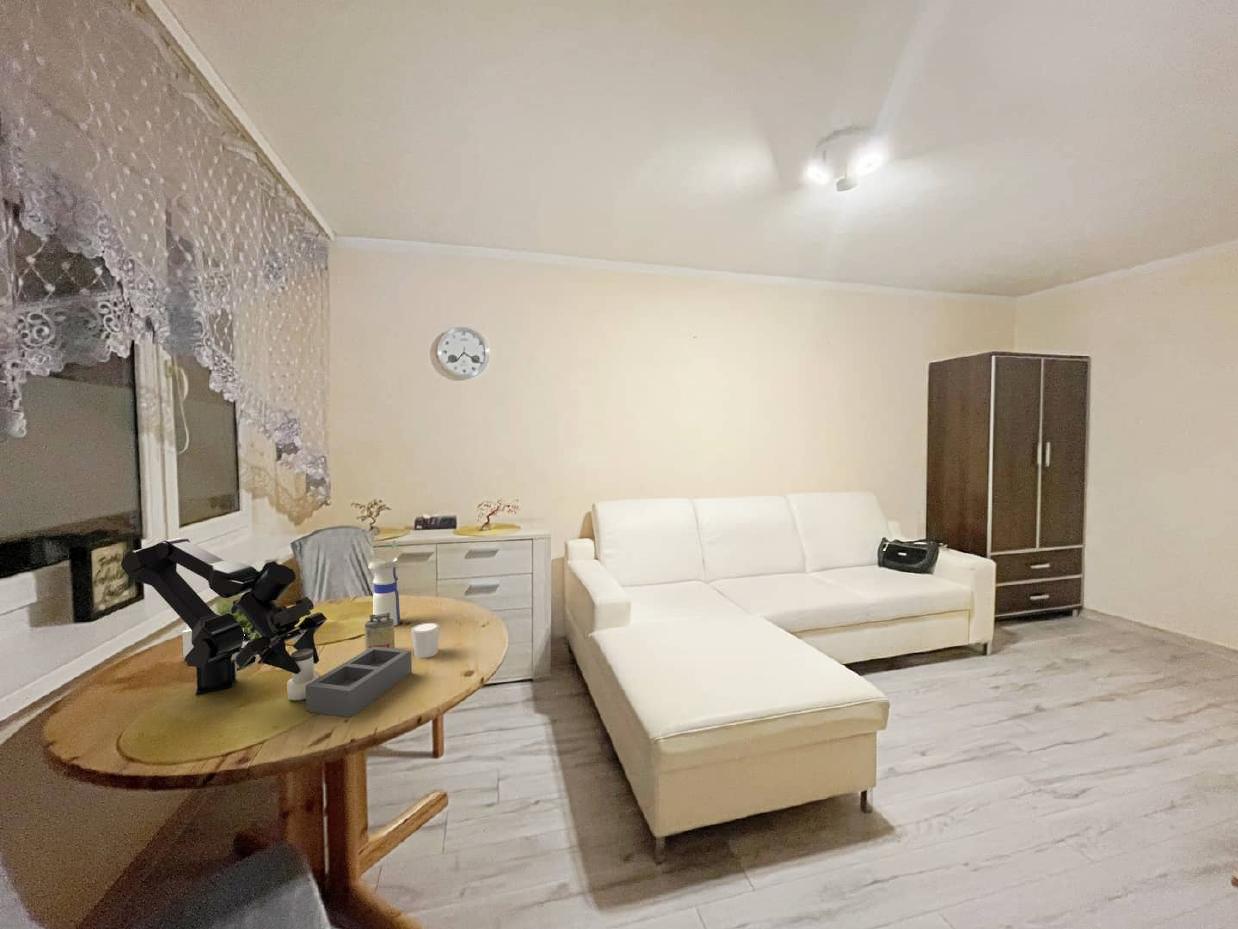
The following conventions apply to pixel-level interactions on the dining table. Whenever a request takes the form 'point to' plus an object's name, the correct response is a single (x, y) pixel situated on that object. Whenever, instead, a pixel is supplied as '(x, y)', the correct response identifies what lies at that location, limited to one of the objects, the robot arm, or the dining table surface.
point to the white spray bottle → (386, 587)
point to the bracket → (187, 641)
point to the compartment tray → (358, 681)
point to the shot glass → (425, 639)
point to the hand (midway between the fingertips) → (308, 667)
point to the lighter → (379, 632)
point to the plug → (301, 674)
